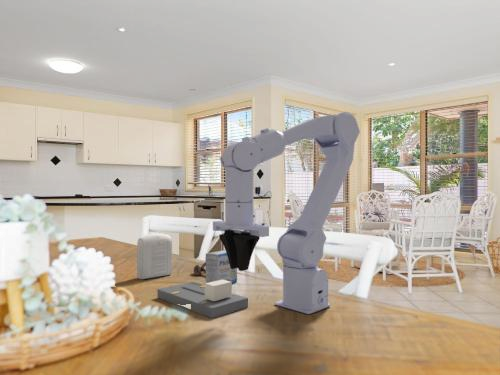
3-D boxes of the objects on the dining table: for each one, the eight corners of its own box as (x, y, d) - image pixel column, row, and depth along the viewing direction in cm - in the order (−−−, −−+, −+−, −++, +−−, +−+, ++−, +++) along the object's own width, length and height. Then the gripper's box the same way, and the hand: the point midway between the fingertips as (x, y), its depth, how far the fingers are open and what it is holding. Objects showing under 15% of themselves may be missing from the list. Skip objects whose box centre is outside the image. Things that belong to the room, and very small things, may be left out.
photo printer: (166, 272, 119) (166, 231, 119) (174, 274, 116) (174, 232, 116) (134, 278, 112) (134, 234, 112) (142, 280, 109) (142, 235, 109)
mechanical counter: (234, 260, 111) (241, 246, 121) (190, 254, 113) (201, 241, 123) (233, 283, 113) (240, 268, 123) (190, 277, 115) (200, 263, 125)
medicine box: (218, 288, 101) (218, 254, 101) (205, 285, 104) (205, 252, 104) (237, 282, 107) (237, 250, 107) (225, 280, 110) (225, 248, 110)
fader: (231, 296, 86) (231, 281, 86) (213, 301, 82) (213, 286, 82) (222, 293, 88) (222, 279, 88) (204, 298, 84) (204, 283, 84)
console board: (248, 307, 86) (248, 297, 86) (212, 318, 79) (212, 307, 79) (192, 289, 100) (192, 280, 100) (157, 297, 93) (157, 288, 93)
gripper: (201, 201, 83) (201, 266, 83) (250, 204, 72) (250, 278, 72) (226, 200, 88) (226, 261, 88) (276, 202, 77) (276, 272, 77)
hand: (239, 269), depth 80 cm, fingers closed
